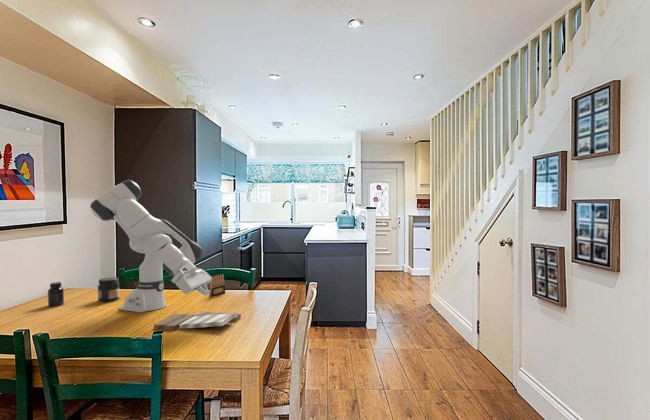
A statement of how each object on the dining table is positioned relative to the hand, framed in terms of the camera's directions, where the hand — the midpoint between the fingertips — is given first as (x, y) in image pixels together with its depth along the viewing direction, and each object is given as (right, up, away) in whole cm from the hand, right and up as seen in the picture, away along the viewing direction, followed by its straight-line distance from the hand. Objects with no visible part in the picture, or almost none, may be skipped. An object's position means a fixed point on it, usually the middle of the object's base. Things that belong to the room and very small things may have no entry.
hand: (207, 294), depth 162 cm
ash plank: (0, -13, 0) cm, 13 cm away
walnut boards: (-5, -14, +3) cm, 15 cm away
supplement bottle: (-92, -14, +33) cm, 99 cm away
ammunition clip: (-12, -13, +55) cm, 58 cm away
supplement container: (-70, -14, +44) cm, 83 cm away
